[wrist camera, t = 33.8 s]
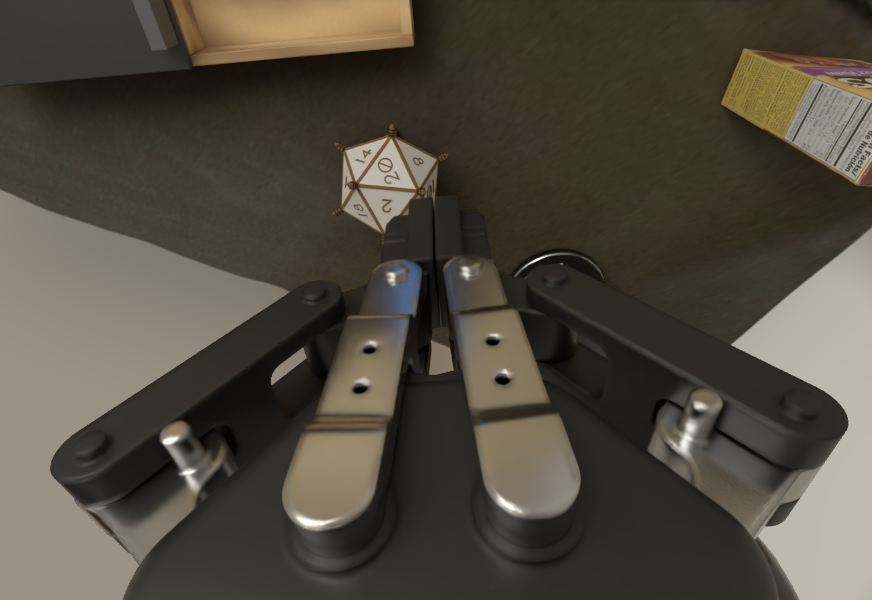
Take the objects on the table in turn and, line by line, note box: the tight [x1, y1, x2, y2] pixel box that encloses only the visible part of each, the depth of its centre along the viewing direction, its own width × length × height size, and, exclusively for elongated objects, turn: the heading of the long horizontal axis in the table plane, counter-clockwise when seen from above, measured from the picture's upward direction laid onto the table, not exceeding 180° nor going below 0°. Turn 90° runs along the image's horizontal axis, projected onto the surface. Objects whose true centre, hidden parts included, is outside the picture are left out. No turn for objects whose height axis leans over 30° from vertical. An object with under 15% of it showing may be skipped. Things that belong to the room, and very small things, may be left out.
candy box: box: [721, 49, 872, 186], centre depth 30 cm, size 9×4×15 cm, turn 85°
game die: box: [331, 124, 449, 244], centre depth 37 cm, size 9×8×10 cm
